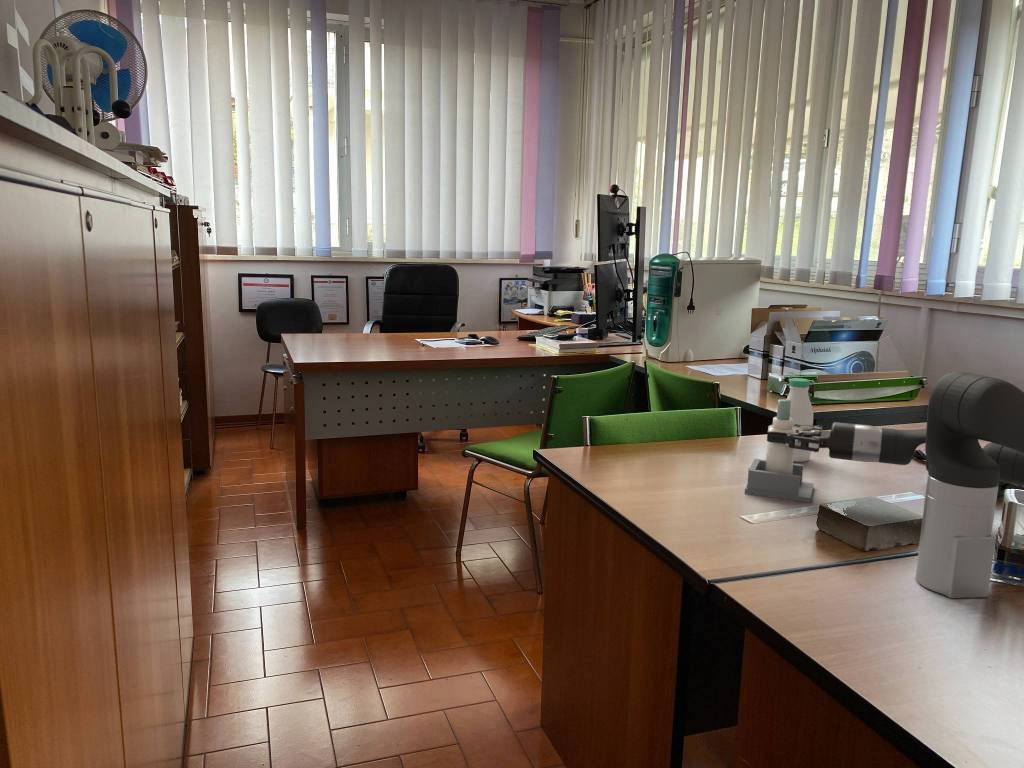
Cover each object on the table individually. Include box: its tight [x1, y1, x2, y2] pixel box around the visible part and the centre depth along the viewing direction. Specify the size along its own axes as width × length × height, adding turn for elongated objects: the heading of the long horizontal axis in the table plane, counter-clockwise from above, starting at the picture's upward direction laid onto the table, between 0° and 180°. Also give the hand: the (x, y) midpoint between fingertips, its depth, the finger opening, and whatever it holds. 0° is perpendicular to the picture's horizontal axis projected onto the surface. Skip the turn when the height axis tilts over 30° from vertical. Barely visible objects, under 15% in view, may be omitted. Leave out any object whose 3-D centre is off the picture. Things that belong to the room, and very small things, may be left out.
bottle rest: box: [744, 458, 815, 504], centre depth 159 cm, size 11×13×5 cm
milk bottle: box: [786, 377, 814, 463], centre depth 183 cm, size 8×8×20 cm
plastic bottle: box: [765, 398, 796, 475], centre depth 158 cm, size 6×6×18 cm
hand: (769, 433), depth 159 cm, fingers closed on plastic bottle, 5 cm apart
